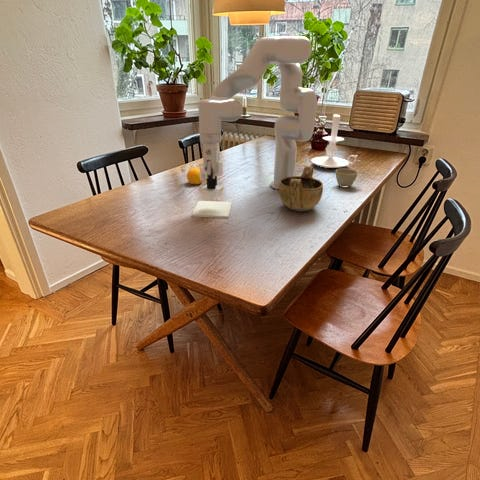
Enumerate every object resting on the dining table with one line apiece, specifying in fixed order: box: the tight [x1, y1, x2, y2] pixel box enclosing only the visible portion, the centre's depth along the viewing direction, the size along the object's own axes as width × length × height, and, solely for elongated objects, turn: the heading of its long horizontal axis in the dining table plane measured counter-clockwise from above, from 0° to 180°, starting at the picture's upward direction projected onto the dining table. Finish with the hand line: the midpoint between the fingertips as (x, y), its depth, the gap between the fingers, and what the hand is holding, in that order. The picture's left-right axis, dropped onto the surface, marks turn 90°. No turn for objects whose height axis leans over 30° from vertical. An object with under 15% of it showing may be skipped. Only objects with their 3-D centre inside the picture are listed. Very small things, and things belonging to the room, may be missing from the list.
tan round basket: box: [278, 165, 324, 212], centre depth 127 cm, size 22×17×15 cm
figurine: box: [198, 160, 225, 201], centre depth 122 cm, size 7×9×15 cm
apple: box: [186, 167, 204, 185], centre depth 155 cm, size 8×8×8 cm
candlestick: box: [310, 113, 358, 169], centre depth 175 cm, size 21×25×28 cm
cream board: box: [191, 200, 233, 219], centre depth 128 cm, size 14×14×1 cm
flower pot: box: [335, 168, 359, 187], centre depth 153 cm, size 10×10×7 cm
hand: (212, 186), depth 124 cm, fingers closed on figurine, 3 cm apart
